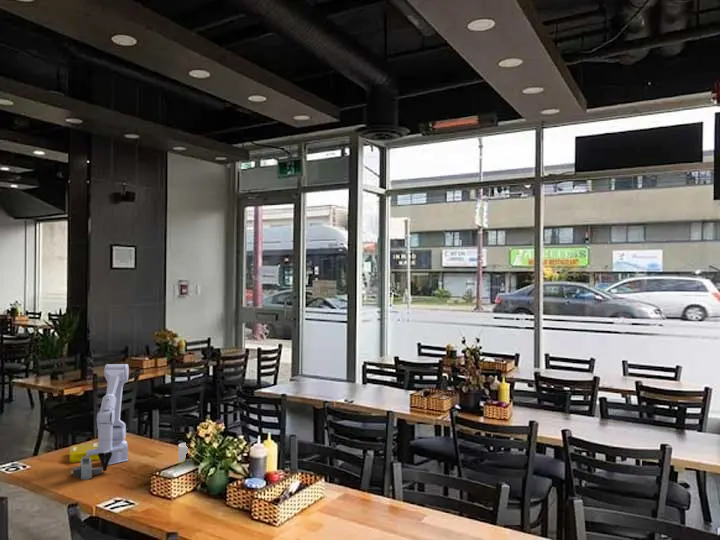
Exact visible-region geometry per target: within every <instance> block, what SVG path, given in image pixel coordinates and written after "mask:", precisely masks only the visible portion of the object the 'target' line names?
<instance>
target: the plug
mask: <svg viewBox="0 0 720 540" xmlns="http://www.w3.org/2000/svg"><path fill="white" fill-rule="evenodd" d="M70 474H71V475H72V477H73V478H78V477H81V465H80V466H74V467H73V470H71V471H70ZM101 474H103V466H102V467H92V476H93V475H101Z"/></svg>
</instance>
